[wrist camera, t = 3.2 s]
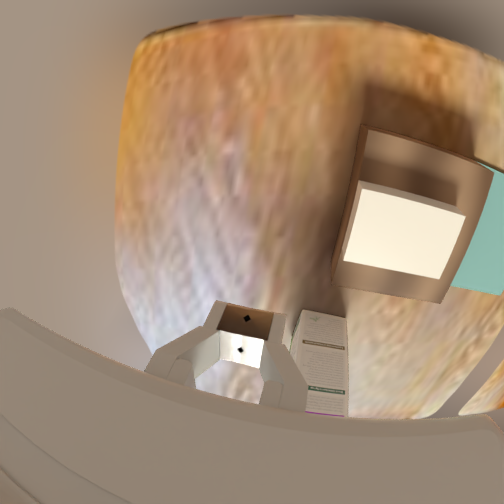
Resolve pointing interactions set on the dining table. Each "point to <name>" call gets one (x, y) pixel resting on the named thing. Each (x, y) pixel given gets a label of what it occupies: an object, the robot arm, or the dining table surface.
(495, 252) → the mat
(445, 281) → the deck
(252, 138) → the dining table surface
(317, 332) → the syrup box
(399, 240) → the cream rectangular block
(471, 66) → the dining table surface
